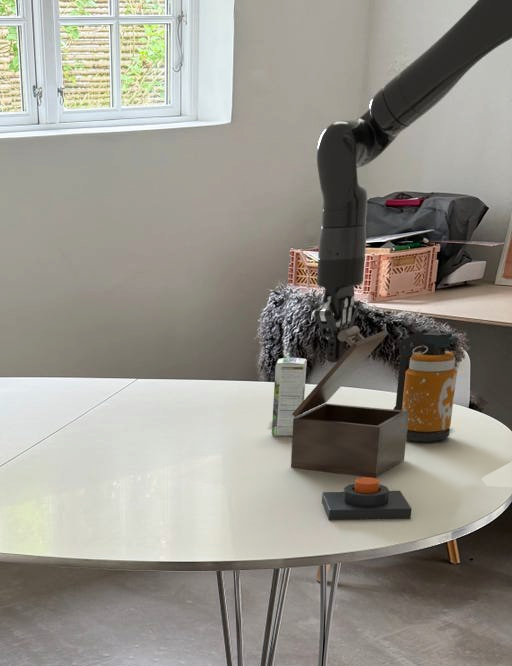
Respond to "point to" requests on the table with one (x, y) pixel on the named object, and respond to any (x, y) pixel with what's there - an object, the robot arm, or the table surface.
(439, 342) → the canister
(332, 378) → the brown box lid
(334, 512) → the control block
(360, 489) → the button
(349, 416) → the brown wooden box
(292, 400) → the syrup box
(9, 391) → the table surface
